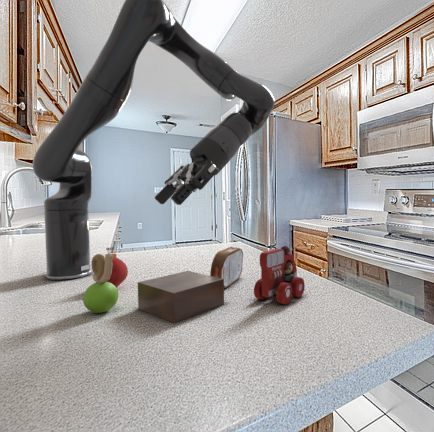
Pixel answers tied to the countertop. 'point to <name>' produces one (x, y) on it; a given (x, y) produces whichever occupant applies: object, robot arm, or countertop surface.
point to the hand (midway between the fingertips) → (166, 201)
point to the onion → (118, 271)
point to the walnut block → (180, 295)
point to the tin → (227, 265)
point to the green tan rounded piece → (101, 285)
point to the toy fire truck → (278, 276)
